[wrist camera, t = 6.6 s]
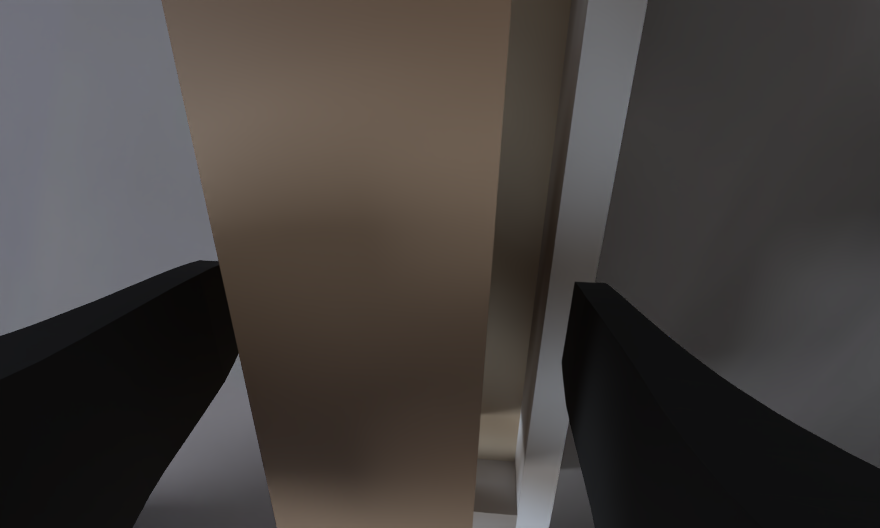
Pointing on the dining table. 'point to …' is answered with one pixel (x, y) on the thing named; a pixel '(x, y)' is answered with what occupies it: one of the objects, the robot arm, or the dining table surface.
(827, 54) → the dining table surface
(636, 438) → the robot arm
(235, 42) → the brown rectangular block
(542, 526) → the door track
